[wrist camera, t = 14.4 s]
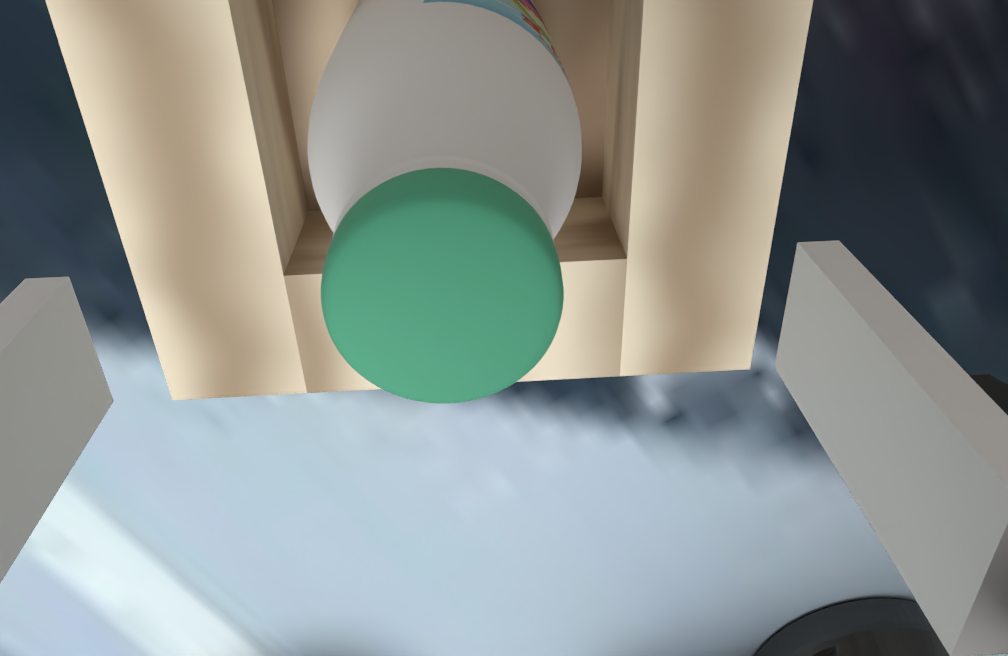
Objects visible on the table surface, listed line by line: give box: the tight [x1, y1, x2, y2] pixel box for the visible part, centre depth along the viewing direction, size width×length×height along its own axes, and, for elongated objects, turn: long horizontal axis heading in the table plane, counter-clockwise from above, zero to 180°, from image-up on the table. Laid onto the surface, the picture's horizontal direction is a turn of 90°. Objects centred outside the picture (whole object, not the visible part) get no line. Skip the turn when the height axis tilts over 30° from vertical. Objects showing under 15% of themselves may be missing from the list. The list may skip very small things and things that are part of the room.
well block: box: [46, 0, 813, 400], centre depth 29 cm, size 24×24×7 cm
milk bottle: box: [308, 0, 582, 403], centre depth 23 cm, size 8×8×20 cm
